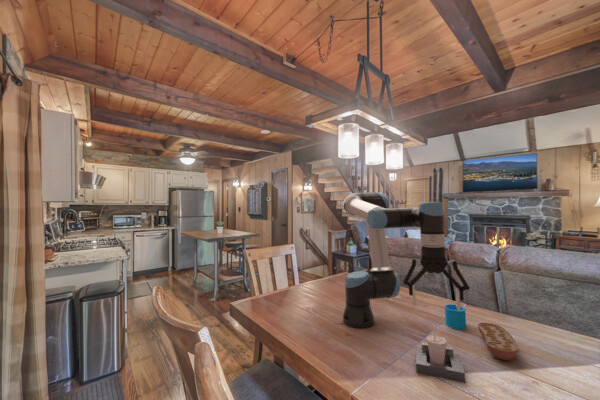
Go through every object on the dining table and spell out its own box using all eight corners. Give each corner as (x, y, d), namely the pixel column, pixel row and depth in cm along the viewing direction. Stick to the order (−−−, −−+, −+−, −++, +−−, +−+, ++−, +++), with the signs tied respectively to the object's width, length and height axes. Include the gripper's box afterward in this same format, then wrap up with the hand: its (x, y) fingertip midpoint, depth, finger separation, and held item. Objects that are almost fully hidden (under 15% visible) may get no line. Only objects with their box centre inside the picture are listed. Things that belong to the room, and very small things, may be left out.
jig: (416, 372, 87) (415, 357, 87) (416, 355, 97) (415, 341, 97) (465, 382, 81) (464, 366, 81) (459, 363, 91) (459, 348, 91)
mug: (465, 331, 113) (464, 312, 114) (444, 326, 118) (443, 308, 118) (467, 321, 123) (466, 303, 123) (447, 317, 128) (447, 300, 128)
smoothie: (423, 363, 92) (421, 323, 92) (440, 361, 92) (438, 322, 93) (434, 374, 85) (432, 331, 86) (452, 372, 86) (450, 330, 86)
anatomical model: (476, 332, 112) (475, 321, 112) (504, 337, 108) (503, 324, 108) (489, 362, 91) (489, 348, 91) (525, 368, 87) (524, 353, 87)
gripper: (394, 246, 92) (396, 306, 91) (477, 248, 81) (481, 316, 81) (395, 243, 99) (398, 299, 98) (472, 245, 88) (476, 307, 88)
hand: (435, 307), depth 89 cm, fingers open, 13 cm apart
